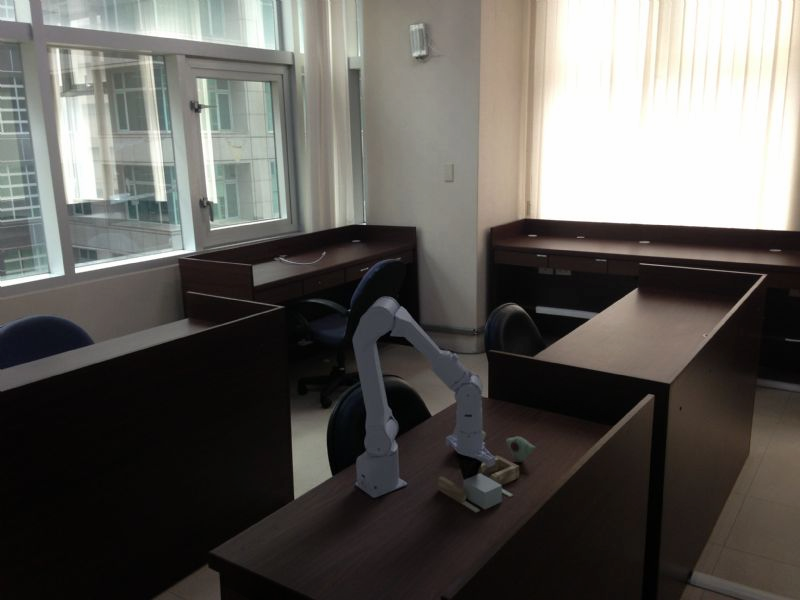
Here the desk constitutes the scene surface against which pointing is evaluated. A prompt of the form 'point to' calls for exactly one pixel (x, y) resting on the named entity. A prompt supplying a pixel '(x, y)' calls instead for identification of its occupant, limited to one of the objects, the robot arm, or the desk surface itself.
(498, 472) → the channel
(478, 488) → the grey block
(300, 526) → the desk surface
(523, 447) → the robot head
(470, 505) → the rails
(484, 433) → the die
